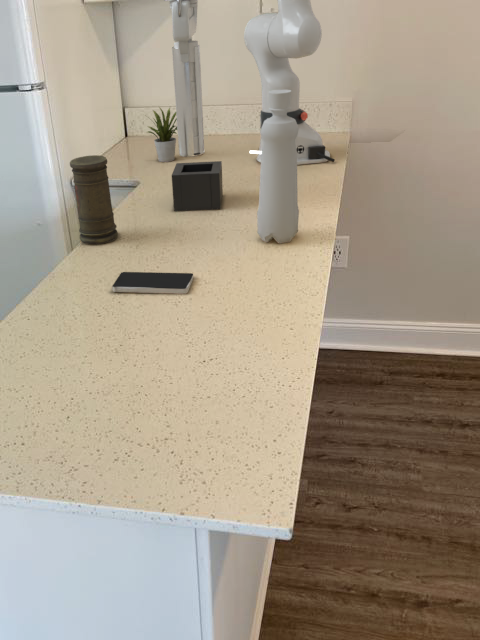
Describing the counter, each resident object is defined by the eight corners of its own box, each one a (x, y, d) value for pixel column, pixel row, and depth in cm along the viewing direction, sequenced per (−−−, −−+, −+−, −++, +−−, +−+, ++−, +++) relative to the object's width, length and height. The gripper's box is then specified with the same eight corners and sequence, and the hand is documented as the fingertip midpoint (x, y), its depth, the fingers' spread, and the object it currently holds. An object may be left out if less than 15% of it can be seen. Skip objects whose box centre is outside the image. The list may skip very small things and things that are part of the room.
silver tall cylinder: (205, 150, 173) (200, 38, 159) (203, 156, 168) (198, 41, 153) (180, 151, 174) (173, 40, 159) (177, 157, 168) (170, 43, 154)
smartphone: (186, 289, 129) (111, 287, 132) (186, 294, 130) (112, 292, 132) (193, 272, 135) (121, 271, 138) (193, 278, 136) (122, 276, 139)
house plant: (200, 156, 220) (197, 101, 211) (177, 166, 211) (174, 110, 202) (164, 153, 227) (160, 100, 218) (140, 163, 218) (135, 108, 208)
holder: (222, 195, 182) (221, 161, 176) (220, 209, 172) (219, 173, 167) (178, 197, 183) (176, 163, 178) (174, 211, 173) (171, 175, 168)
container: (123, 232, 162) (114, 154, 152) (108, 246, 155) (97, 164, 145) (90, 231, 165) (79, 154, 154) (73, 244, 158) (61, 164, 148)
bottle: (302, 233, 153) (308, 87, 136) (291, 247, 146) (295, 95, 129) (264, 230, 156) (265, 87, 139) (251, 243, 150) (250, 95, 133)
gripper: (192, -9, 142) (196, 64, 150) (199, -13, 158) (202, 53, 166) (163, -7, 143) (168, 66, 151) (173, -11, 159) (177, 55, 167)
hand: (186, 59), depth 159 cm, fingers closed on silver tall cylinder, 6 cm apart
